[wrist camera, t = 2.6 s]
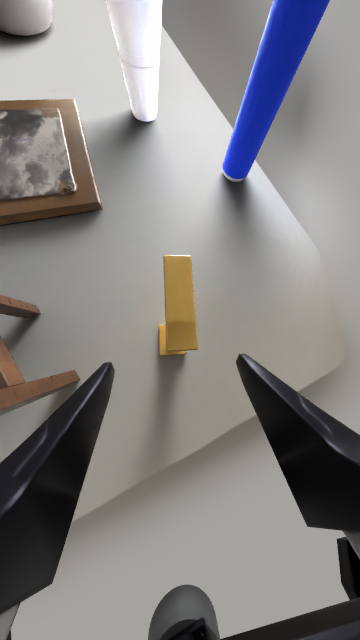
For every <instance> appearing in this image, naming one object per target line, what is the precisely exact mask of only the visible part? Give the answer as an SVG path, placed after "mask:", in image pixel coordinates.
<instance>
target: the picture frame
mask: <svg viewBox="0 0 360 640" xmlns="http://www.w3.org/2000/svg"><path fill="white" fill-rule="evenodd" d="M100 209H101V210H102V206H101V201H100V197H99V193H98V190H97V186H96V182H95V177H94V174H93V170H92V166H91V162H90V158H89V154H88V150H87V146H86V142H85V138H84V133H83V129H82V125H81V121H80V117H79V113H78V109H77V105H76V103H75V100H74V99H58V100H15V101H0V225H3V224H4V225H5V224H10V223H16V222H23V221H29V220H36V219H42V218H49V217H55V216H61V215H68V214H74V213H82V212H87V211H88V212H89V211H94V210H100Z"/></svg>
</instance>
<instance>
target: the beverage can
mask: <svg viewBox="0 0 360 640" xmlns="http://www.w3.org/2000/svg"><path fill="white" fill-rule="evenodd" d="M329 1H330V0H273V4H272V7H271V10H270V13H269V16H268V20H267V23H266V26H265V30H264V33H263V36H262V39H261V42H260V46H259V49H258V52H257V55H256V59H255V62H254V65H253V68H252V72H251V75H250V78H249V81H248V85H247V88H246V91H245V94H244V98H243V101H242V104H241V107H240V110H239V114H238V117H237V120H236V123H235V127H234V130H233V133H232V136H231V140H230V143H229V146H228V149H227V153H226V156H225V159H224V162H223V173H224V175H225V177H226V178H227V179H229V180H231V181H234V182H239V181H241V180H243V179H244V178H245V177H246V176H247V175H248V173H249V171H250V168H251V166H252V164H253V162H254V160H255V158H256V156H257V154H258V151H259V149H260V147H261V145H262V143H263V141H264V139H265V137H266V134H267V132H268V130H269V128H270V126H271V124H272V122H273V120H274V118H275V115H276V113H277V111H278V109H279V107H280V105H281V103H282V101H283V98H284V96H285V94H286V92H287V90H288V88H289V86H290V84H291V81H292V79H293V77H294V75H295V73H296V71H297V69H298V67H299V64H300V62H301V60H302V58H303V56H304V54H305V52H306V50H307V48H308V45H309V43H310V41H311V39H312V37H313V35H314V33H315V31H316V28H317V26H318V24H319V22H320V20H321V18H322V16H323V14H324V11H325V9H326V7H327V5H328V3H329Z"/></svg>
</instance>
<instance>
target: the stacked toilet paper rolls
mask: <svg viewBox="0 0 360 640" xmlns="http://www.w3.org/2000/svg"><path fill="white" fill-rule="evenodd" d="M105 1H106V5H107V9H108V14H109V18H110V22H111V26H112V30H113V34H114V38H115V42H116V44H117V48H118V55H119V59H120V63H121V67H122V71H123V76H124V80H125V84H126V88H127V92H128V96H129V100H130V105H131V109H132V113H133V115H134V116H135V117H136V118H137V119H139V120H141V121H152V120H154V119H155V118H156V115H157V95H158V74H159V49H160V32H161V12H162V0H105Z"/></svg>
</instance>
